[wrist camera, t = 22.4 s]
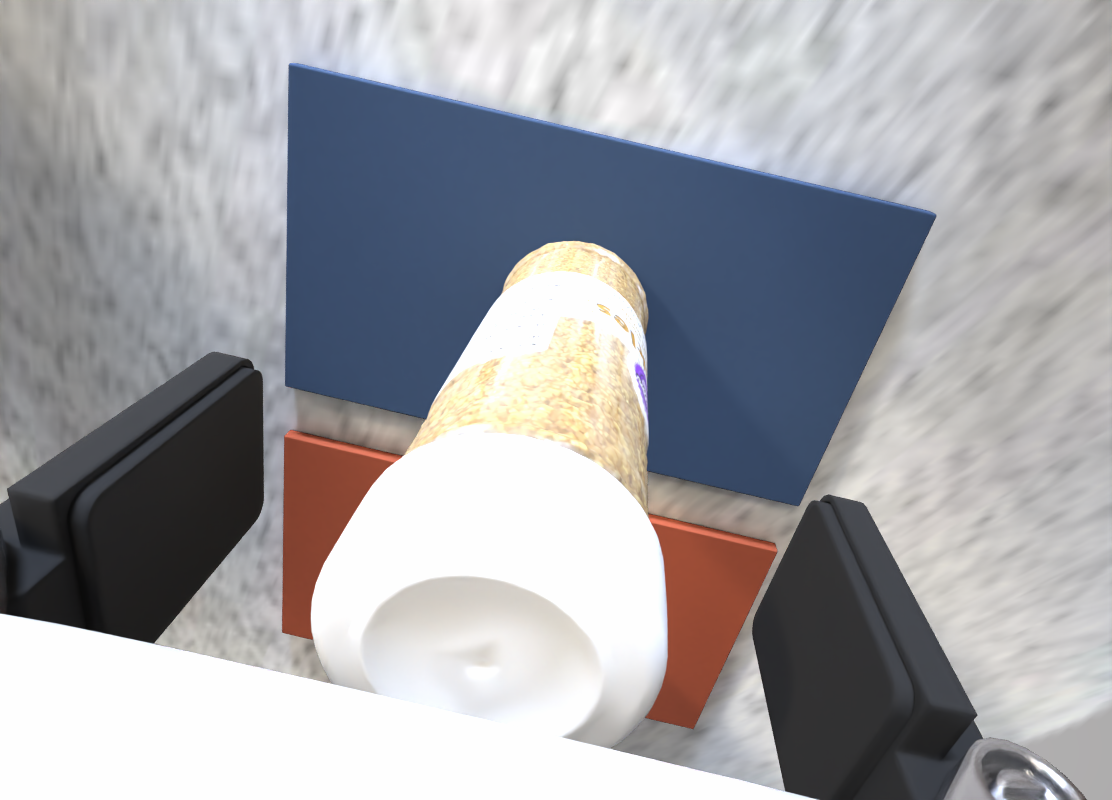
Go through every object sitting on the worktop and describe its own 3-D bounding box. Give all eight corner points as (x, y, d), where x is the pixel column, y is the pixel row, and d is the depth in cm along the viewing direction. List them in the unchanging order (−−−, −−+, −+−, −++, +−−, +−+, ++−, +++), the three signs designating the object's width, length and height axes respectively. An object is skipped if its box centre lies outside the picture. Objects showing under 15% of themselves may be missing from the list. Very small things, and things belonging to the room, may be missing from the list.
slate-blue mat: (291, 380, 23) (284, 386, 22) (296, 62, 18) (287, 62, 18) (795, 498, 23) (799, 507, 22) (930, 211, 18) (938, 214, 18)
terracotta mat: (287, 624, 28) (281, 633, 28) (290, 429, 24) (283, 436, 23) (692, 719, 28) (693, 729, 28) (775, 542, 23) (778, 551, 23)
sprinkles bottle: (670, 346, 20) (726, 752, 8) (538, 398, 21) (418, 814, 9) (610, 207, 18) (569, 462, 6) (471, 273, 20) (221, 585, 8)
